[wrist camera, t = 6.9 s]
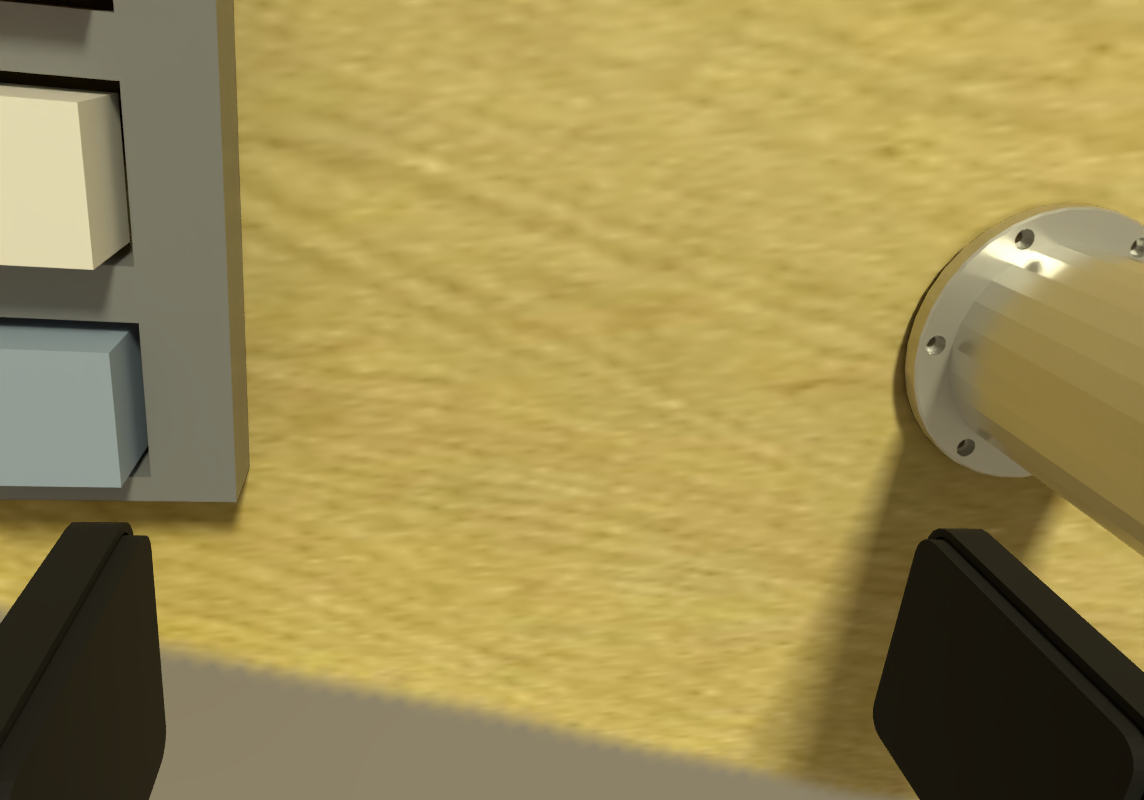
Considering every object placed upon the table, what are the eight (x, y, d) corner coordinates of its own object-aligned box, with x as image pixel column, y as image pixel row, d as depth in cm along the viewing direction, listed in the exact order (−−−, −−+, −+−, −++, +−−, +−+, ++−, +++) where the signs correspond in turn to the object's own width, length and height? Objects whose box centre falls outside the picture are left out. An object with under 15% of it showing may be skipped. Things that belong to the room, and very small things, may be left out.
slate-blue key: (141, 317, 34) (108, 353, 30) (151, 439, 36) (121, 487, 32) (-6, 310, 33) (-59, 346, 29) (11, 436, 35) (-36, 485, 31)
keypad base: (225, -216, 29) (205, -241, 26) (249, 467, 38) (236, 502, 35) (-207, -280, 27) (-278, -315, 24) (-75, 461, 35) (-115, 498, 33)
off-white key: (118, 92, 30) (77, 102, 27) (130, 241, 32) (93, 269, 29) (-49, 78, 29) (-115, 86, 26) (-27, 232, 31) (-86, 260, 28)
